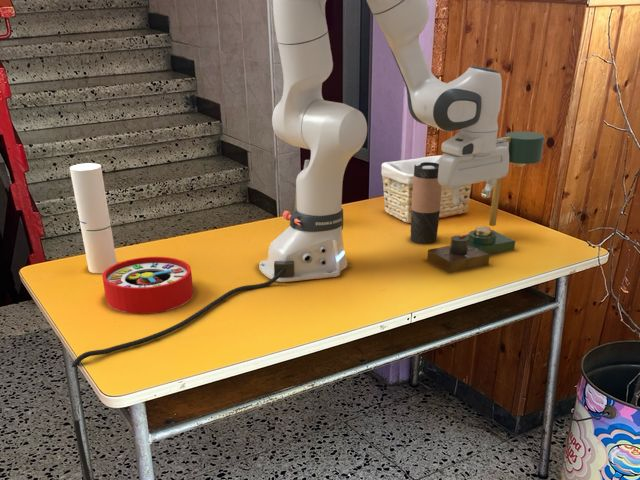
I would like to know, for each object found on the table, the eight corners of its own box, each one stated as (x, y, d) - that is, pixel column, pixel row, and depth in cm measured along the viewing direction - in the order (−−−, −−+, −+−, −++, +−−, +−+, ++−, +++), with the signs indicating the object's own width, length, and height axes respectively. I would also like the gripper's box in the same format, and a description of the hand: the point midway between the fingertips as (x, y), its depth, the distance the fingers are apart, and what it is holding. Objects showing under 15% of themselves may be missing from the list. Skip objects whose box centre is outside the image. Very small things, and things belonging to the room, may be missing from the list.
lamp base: (477, 257, 191) (479, 240, 189) (455, 246, 199) (456, 229, 196) (514, 250, 196) (516, 233, 193) (491, 239, 203) (493, 223, 201)
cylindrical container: (103, 261, 191) (85, 161, 177) (123, 266, 188) (107, 165, 174) (82, 270, 186) (63, 168, 172) (103, 275, 182) (84, 172, 169)
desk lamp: (501, 230, 196) (512, 142, 183) (478, 220, 203) (488, 134, 191) (539, 223, 200) (553, 136, 188) (515, 213, 208) (527, 129, 196)
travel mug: (438, 244, 200) (445, 169, 189) (410, 244, 200) (415, 169, 189) (435, 235, 206) (441, 162, 195) (408, 235, 206) (412, 162, 196)
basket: (404, 226, 214) (407, 174, 206) (377, 211, 226) (379, 161, 218) (472, 214, 222) (478, 164, 214) (442, 201, 235) (446, 153, 226)
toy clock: (91, 266, 171) (173, 251, 180) (96, 289, 175) (176, 274, 183) (116, 295, 157) (204, 277, 165) (121, 320, 160) (206, 301, 168)
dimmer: (449, 273, 182) (450, 261, 180) (426, 260, 190) (427, 249, 188) (488, 265, 186) (489, 253, 185) (465, 253, 194) (466, 241, 192)
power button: (480, 238, 191) (481, 232, 190) (471, 234, 194) (472, 227, 193) (493, 236, 193) (494, 229, 192) (483, 232, 196) (484, 225, 195)
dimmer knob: (460, 256, 184) (461, 241, 182) (446, 251, 186) (447, 237, 184) (470, 251, 186) (472, 237, 184) (456, 247, 189) (458, 233, 187)
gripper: (499, 134, 181) (493, 191, 189) (436, 144, 172) (431, 204, 179) (518, 138, 177) (511, 196, 184) (454, 149, 167) (448, 210, 175)
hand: (471, 200), depth 182 cm, fingers open, 8 cm apart
